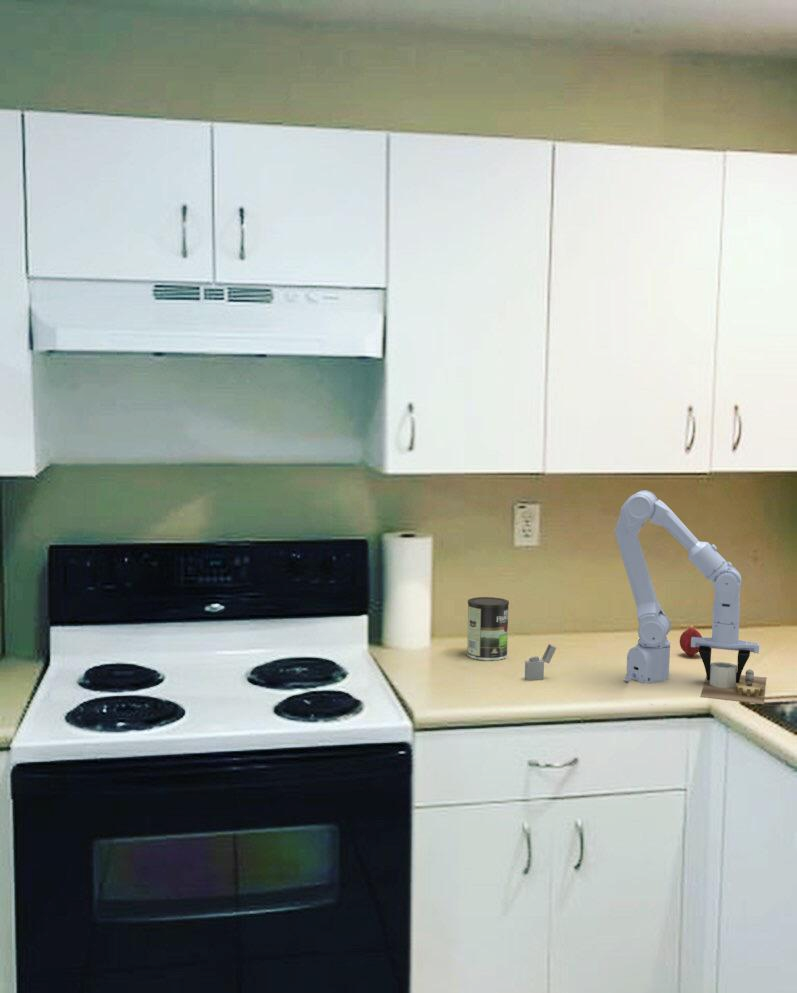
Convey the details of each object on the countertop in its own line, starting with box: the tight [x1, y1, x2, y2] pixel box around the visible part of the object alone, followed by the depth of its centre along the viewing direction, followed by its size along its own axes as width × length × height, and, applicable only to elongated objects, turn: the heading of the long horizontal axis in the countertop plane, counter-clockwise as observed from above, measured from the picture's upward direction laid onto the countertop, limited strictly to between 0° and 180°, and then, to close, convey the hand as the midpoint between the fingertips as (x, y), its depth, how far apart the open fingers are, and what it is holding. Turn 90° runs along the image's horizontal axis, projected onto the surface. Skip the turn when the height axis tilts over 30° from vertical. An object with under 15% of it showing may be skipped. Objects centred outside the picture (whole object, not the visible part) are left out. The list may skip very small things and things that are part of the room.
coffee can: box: [466, 596, 510, 662], centre depth 257 cm, size 10×10×14 cm
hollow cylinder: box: [710, 661, 737, 688], centre depth 230 cm, size 6×6×4 cm
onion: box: [679, 624, 703, 657], centre depth 259 cm, size 6×6×8 cm
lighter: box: [524, 643, 557, 682], centre depth 237 cm, size 7×2×8 cm, turn 105°
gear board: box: [699, 668, 767, 705], centre depth 228 cm, size 22×13×4 cm, turn 159°
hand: (723, 681), depth 230 cm, fingers closed on hollow cylinder, 6 cm apart
